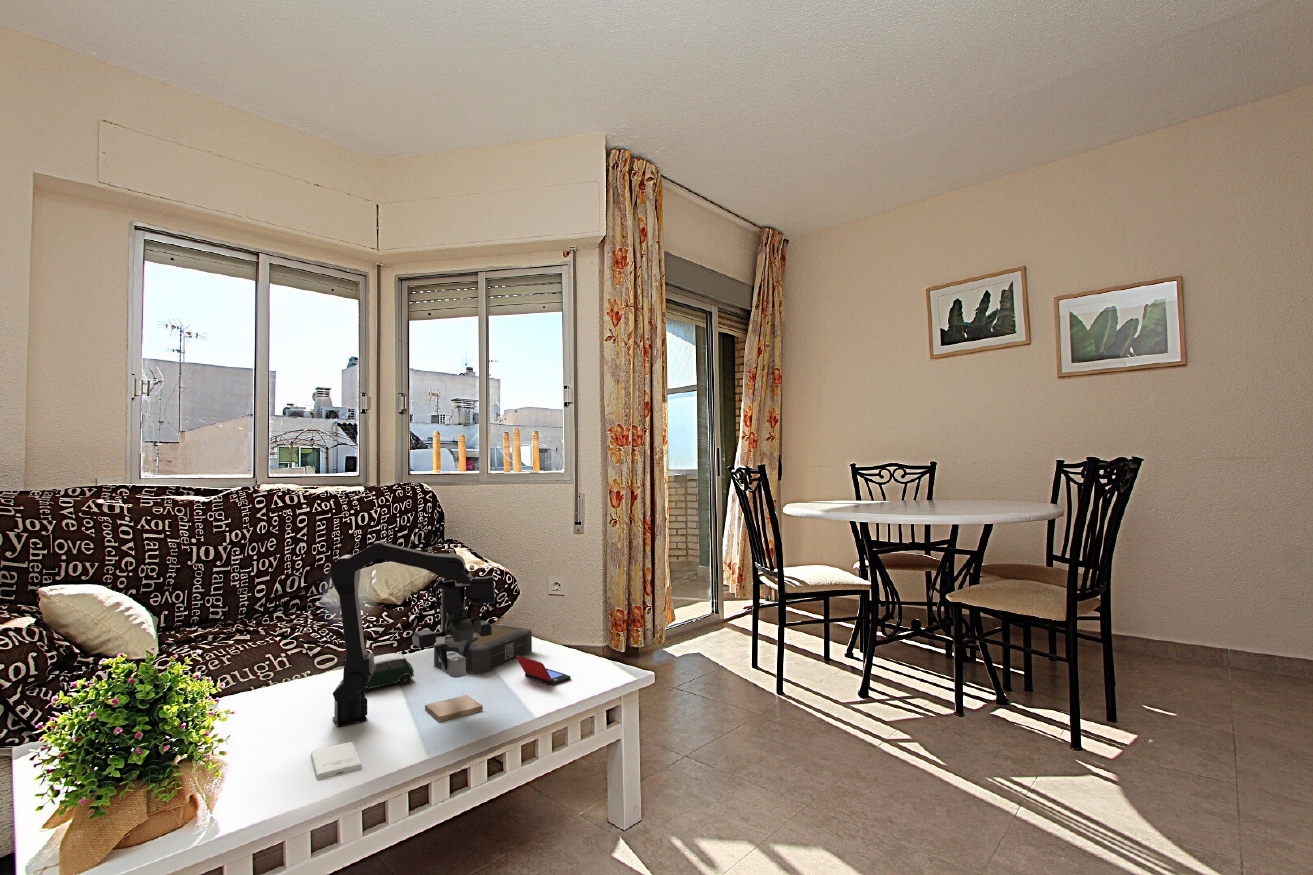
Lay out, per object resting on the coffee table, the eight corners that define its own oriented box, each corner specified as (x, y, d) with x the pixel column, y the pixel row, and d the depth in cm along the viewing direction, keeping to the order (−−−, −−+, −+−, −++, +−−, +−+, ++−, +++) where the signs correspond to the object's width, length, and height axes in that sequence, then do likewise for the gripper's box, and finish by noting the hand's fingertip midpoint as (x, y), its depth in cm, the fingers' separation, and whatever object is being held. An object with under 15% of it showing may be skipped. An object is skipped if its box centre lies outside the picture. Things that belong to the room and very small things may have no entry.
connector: (453, 678, 160) (453, 662, 160) (436, 666, 170) (436, 650, 170) (467, 675, 163) (467, 659, 163) (449, 663, 172) (449, 648, 172)
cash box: (483, 676, 192) (483, 649, 192) (431, 667, 201) (431, 641, 201) (535, 652, 214) (535, 629, 214) (486, 645, 223) (486, 622, 223)
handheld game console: (572, 680, 187) (572, 654, 187) (542, 690, 179) (541, 663, 179) (545, 671, 195) (545, 645, 196) (514, 680, 187) (514, 654, 188)
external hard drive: (352, 748, 145) (361, 770, 134) (310, 758, 140) (316, 781, 130) (352, 741, 145) (361, 762, 134) (310, 750, 140) (316, 773, 130)
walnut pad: (439, 721, 158) (439, 716, 158) (425, 709, 166) (425, 704, 166) (482, 710, 164) (482, 705, 164) (467, 699, 172) (467, 694, 172)
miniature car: (340, 689, 182) (340, 659, 182) (406, 675, 193) (406, 647, 194) (348, 698, 175) (348, 667, 175) (417, 683, 186) (417, 654, 187)
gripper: (427, 617, 154) (427, 684, 153) (501, 605, 165) (501, 668, 165) (411, 608, 163) (411, 672, 162) (483, 598, 174) (483, 657, 173)
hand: (453, 667), depth 165 cm, fingers closed on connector, 4 cm apart
